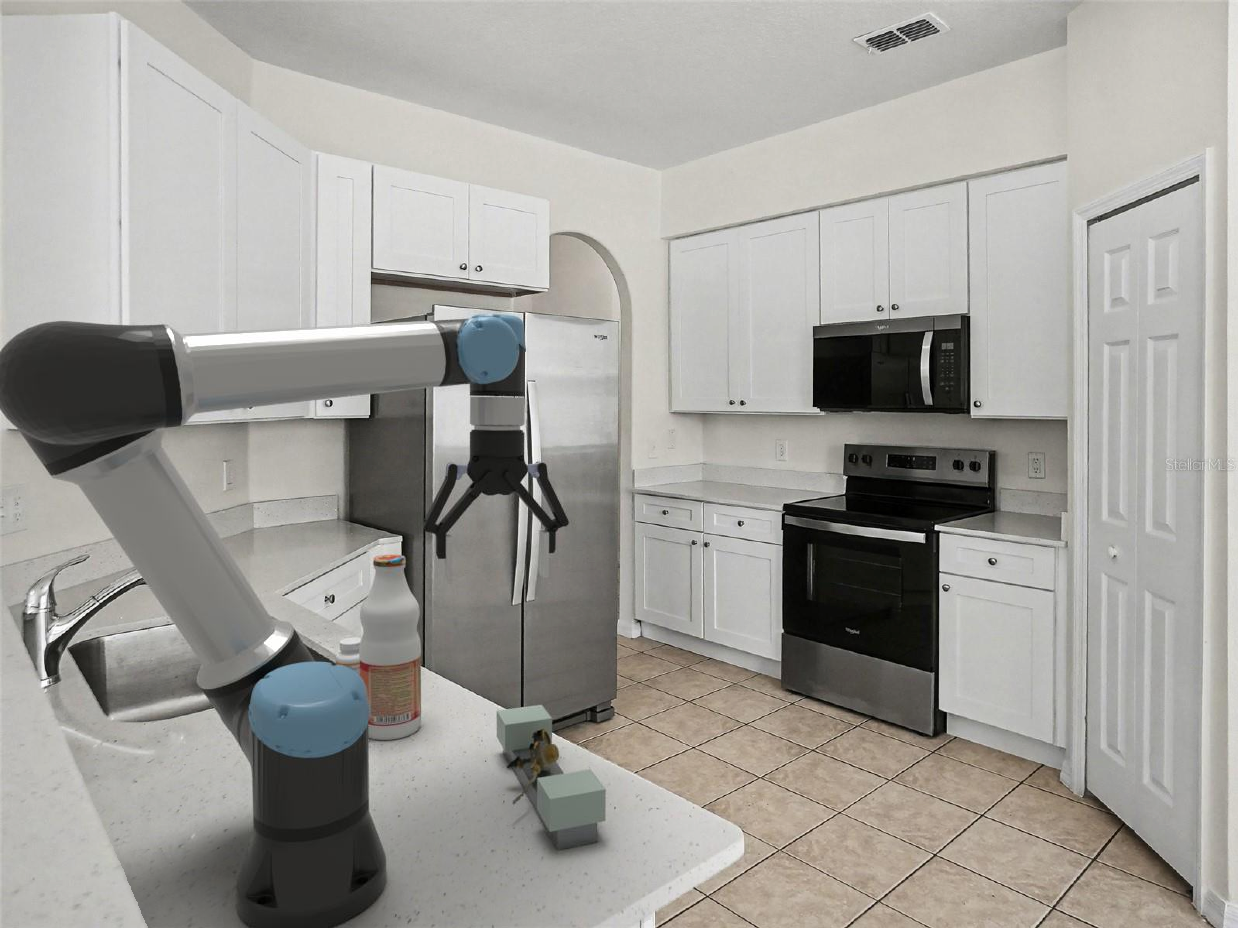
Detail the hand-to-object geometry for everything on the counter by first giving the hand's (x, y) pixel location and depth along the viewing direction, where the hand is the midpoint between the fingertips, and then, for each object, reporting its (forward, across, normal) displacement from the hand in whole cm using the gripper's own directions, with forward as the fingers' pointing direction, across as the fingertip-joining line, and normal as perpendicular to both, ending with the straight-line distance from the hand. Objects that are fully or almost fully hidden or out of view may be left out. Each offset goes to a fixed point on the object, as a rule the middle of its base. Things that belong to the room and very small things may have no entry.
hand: (496, 578), depth 112 cm
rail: (+28, -5, +8) cm, 30 cm away
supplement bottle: (+28, +19, -37) cm, 50 cm away
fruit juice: (+28, +13, -19) cm, 36 cm away
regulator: (+26, -3, +9) cm, 27 cm away
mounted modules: (+25, -5, +8) cm, 27 cm away
